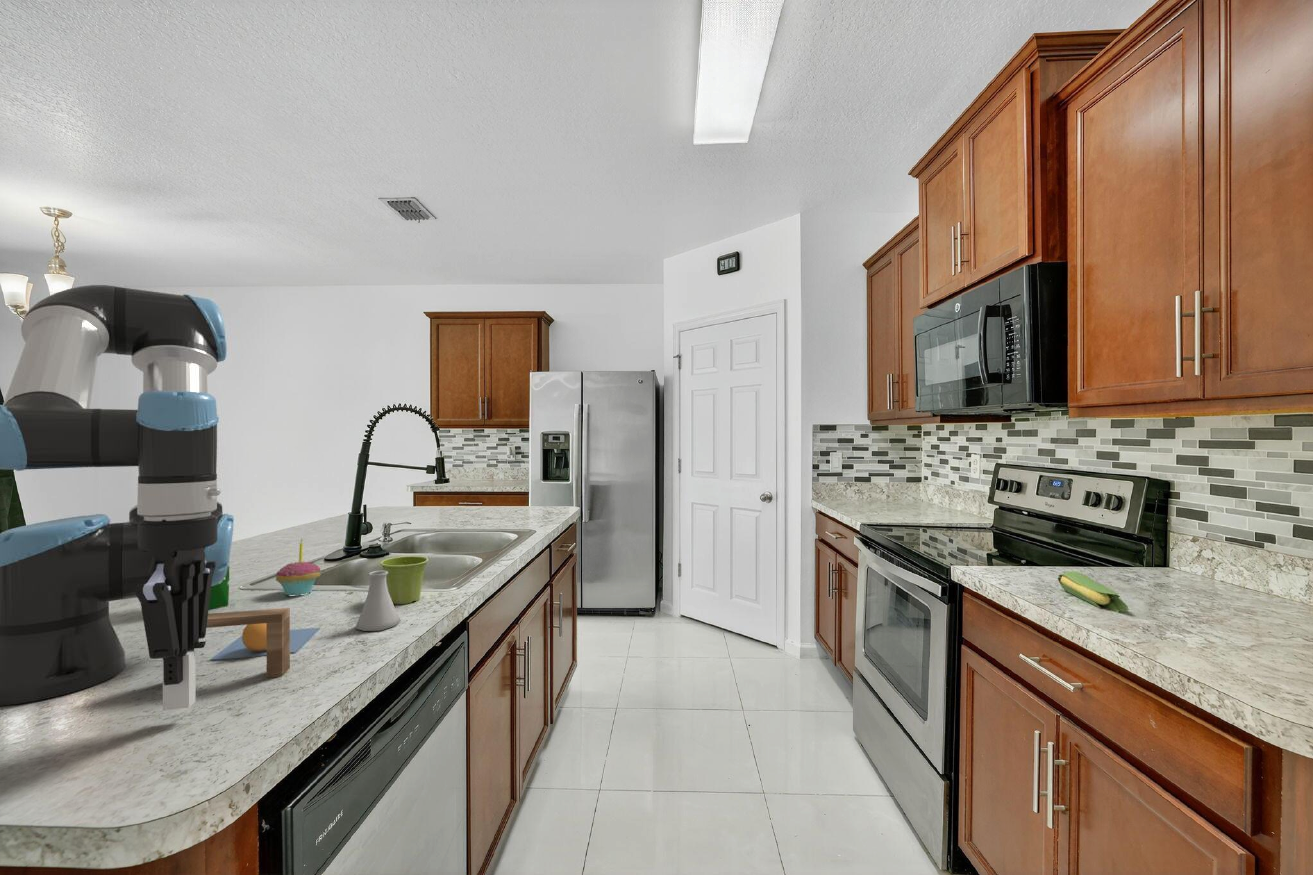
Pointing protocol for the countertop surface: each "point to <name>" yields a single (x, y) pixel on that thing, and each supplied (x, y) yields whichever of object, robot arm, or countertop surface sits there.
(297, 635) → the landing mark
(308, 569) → the cupcake
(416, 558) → the plant pot
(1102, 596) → the edible corn
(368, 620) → the flask
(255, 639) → the ball
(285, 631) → the bridge
